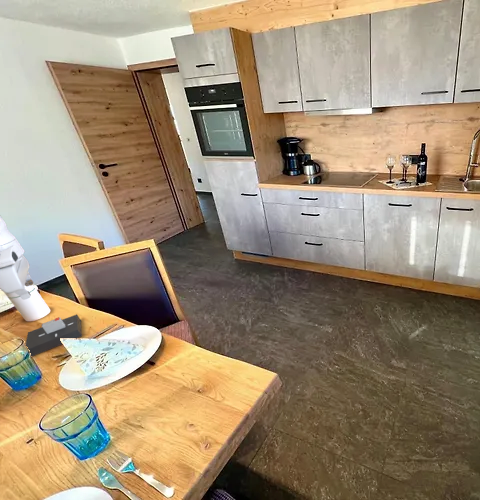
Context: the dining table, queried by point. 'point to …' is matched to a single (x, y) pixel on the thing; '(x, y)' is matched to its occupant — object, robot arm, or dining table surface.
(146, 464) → the dining table surface
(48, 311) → the cylindrical container
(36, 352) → the hob panel
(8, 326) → the dining table surface
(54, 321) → the stove knob
